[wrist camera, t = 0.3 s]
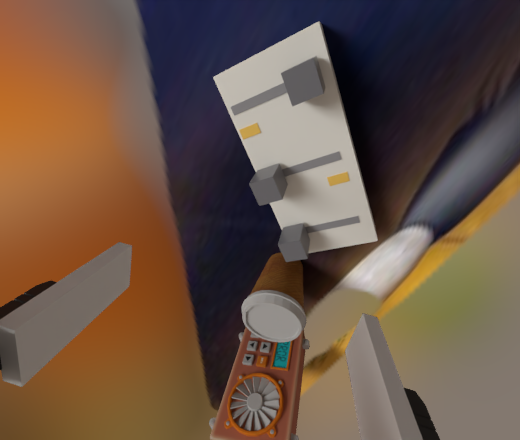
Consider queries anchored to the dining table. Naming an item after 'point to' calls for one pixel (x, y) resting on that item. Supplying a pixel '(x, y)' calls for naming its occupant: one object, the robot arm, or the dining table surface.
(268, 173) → the tab
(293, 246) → the tab
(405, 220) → the dining table surface
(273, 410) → the control panel
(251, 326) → the disposable coffee cup
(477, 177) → the dining table surface
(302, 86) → the tab
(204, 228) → the dining table surface
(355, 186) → the switch bank
